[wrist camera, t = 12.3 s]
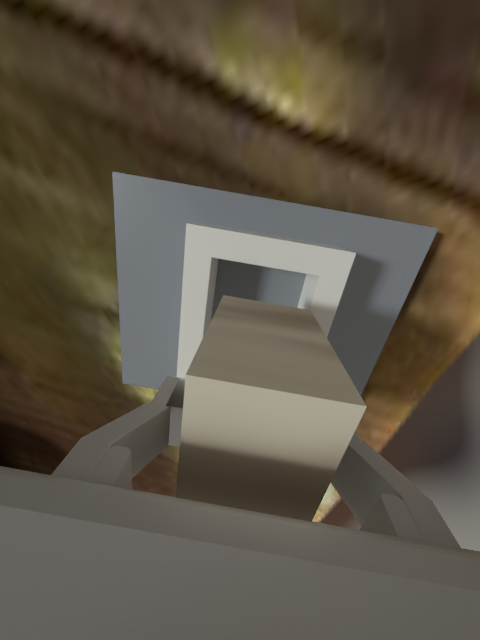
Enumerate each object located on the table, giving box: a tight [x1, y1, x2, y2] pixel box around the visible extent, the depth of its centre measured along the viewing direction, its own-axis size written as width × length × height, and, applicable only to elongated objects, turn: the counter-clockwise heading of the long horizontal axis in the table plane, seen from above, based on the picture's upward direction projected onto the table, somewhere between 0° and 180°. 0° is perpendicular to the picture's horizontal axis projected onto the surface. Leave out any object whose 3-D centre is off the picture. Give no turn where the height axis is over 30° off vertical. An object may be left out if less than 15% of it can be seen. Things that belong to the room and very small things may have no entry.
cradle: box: [112, 172, 438, 396], centre depth 17 cm, size 20×16×4 cm
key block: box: [176, 295, 367, 522], centre depth 9 cm, size 7×4×6 cm, turn 171°
